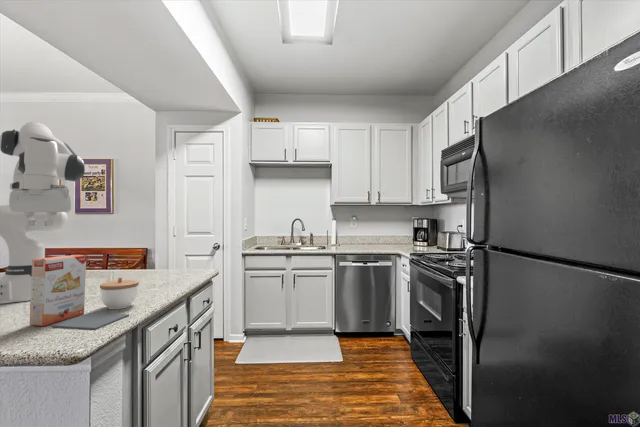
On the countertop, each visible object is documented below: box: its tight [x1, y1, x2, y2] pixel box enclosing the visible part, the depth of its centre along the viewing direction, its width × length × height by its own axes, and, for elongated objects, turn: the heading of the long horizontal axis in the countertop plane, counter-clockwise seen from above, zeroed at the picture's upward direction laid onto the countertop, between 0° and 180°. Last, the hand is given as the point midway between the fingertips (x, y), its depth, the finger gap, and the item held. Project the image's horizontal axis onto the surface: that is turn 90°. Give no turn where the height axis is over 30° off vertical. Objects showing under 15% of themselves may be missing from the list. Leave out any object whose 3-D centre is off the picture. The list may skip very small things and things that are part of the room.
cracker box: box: [29, 254, 87, 327], centre depth 105 cm, size 14×6×21 cm, turn 168°
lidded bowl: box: [99, 277, 140, 310], centre depth 121 cm, size 13×13×11 cm
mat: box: [51, 312, 130, 330], centre depth 104 cm, size 15×14×1 cm
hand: (40, 225), depth 107 cm, fingers open, 5 cm apart
